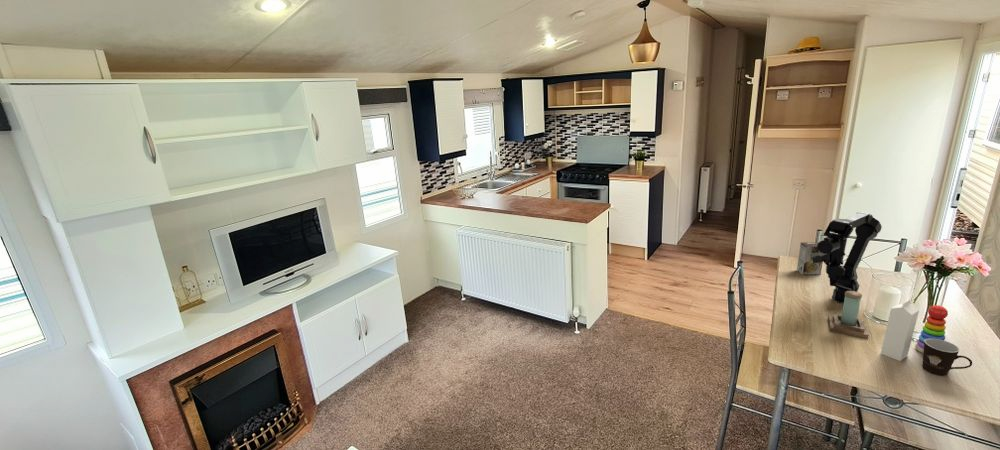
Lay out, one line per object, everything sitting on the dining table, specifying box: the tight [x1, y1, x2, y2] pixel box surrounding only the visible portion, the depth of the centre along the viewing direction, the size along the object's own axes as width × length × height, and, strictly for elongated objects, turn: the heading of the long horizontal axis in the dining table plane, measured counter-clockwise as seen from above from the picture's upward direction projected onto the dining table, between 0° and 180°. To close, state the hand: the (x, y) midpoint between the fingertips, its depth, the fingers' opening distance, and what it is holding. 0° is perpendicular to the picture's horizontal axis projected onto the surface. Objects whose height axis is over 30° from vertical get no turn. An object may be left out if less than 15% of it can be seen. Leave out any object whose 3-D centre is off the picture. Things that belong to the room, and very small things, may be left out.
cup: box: [841, 291, 863, 326], centre depth 179 cm, size 5×5×14 cm
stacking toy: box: [914, 304, 949, 354], centre depth 161 cm, size 8×8×19 cm
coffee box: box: [796, 241, 824, 276], centre depth 232 cm, size 9×6×16 cm
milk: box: [880, 299, 920, 362], centre depth 159 cm, size 6×6×22 cm
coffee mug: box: [921, 338, 973, 377], centre depth 150 cm, size 12×9×10 cm
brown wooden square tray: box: [827, 313, 869, 339], centre depth 181 cm, size 12×12×3 cm
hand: (830, 281), depth 194 cm, fingers open, 9 cm apart
